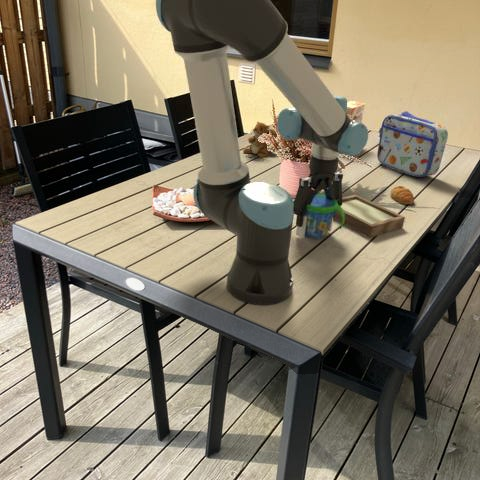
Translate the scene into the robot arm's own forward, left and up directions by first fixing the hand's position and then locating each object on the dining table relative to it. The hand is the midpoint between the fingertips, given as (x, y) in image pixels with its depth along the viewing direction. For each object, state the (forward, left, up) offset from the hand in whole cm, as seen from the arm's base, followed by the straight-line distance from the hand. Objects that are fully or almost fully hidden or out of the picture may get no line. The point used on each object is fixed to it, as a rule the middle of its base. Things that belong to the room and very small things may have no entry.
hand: (313, 232), depth 140 cm
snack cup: (0, 0, 0) cm, 0 cm away
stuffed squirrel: (+33, +70, -1) cm, 78 cm away
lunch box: (+72, +28, -1) cm, 78 cm away
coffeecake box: (+72, +61, -1) cm, 95 cm away
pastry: (+46, +7, -1) cm, 47 cm away
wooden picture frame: (+20, +1, -1) cm, 20 cm away
